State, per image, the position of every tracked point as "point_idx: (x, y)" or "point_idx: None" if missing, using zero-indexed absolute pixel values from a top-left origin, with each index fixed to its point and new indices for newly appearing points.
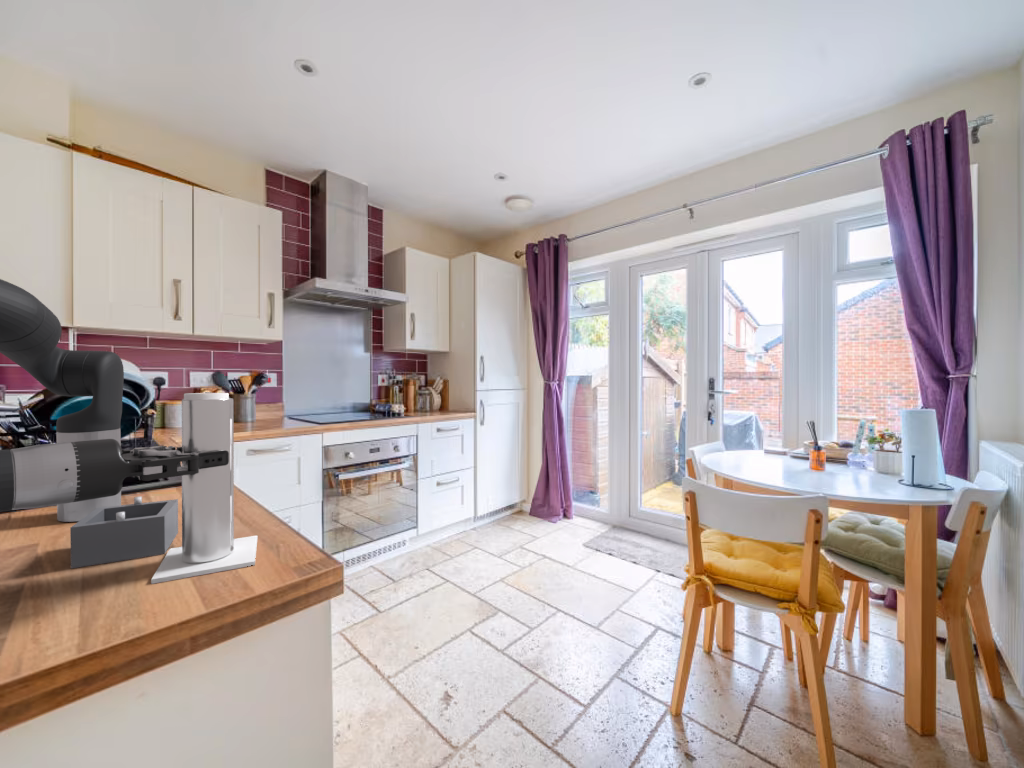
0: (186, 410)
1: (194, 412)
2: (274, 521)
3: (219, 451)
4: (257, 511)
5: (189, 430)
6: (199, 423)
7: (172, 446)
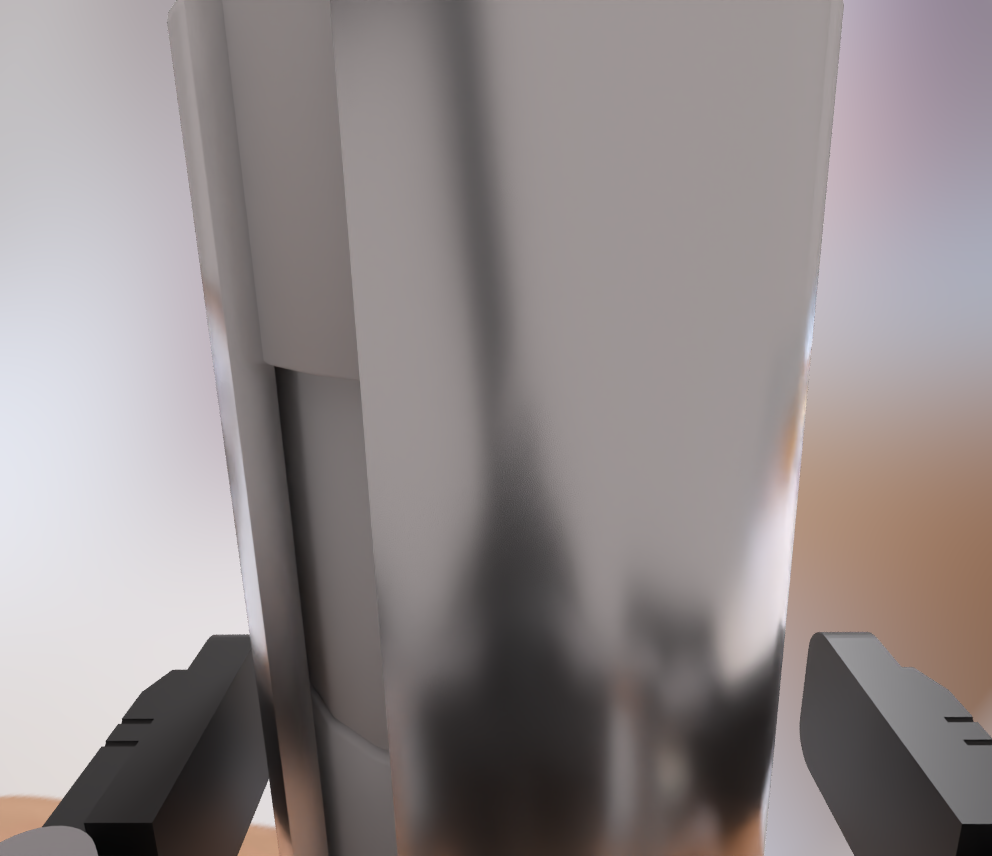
0: (643, 173)
1: (780, 210)
2: (263, 831)
3: (899, 671)
4: (37, 812)
5: (685, 540)
6: (786, 394)
7: (48, 851)
